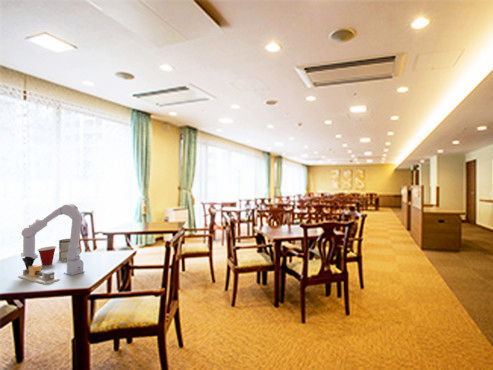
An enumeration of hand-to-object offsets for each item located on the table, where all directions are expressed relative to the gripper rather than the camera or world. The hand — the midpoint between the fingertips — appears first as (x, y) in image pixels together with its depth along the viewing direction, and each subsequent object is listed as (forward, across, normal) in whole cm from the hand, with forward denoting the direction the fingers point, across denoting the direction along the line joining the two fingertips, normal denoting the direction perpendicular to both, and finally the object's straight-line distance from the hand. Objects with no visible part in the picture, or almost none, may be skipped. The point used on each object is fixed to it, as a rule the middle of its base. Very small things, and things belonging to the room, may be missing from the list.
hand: (29, 268), depth 170 cm
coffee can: (+5, -23, +36) cm, 43 cm away
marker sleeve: (+3, +6, 0) cm, 7 cm away
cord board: (+4, +10, 0) cm, 11 cm away
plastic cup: (+5, -18, +20) cm, 27 cm away
